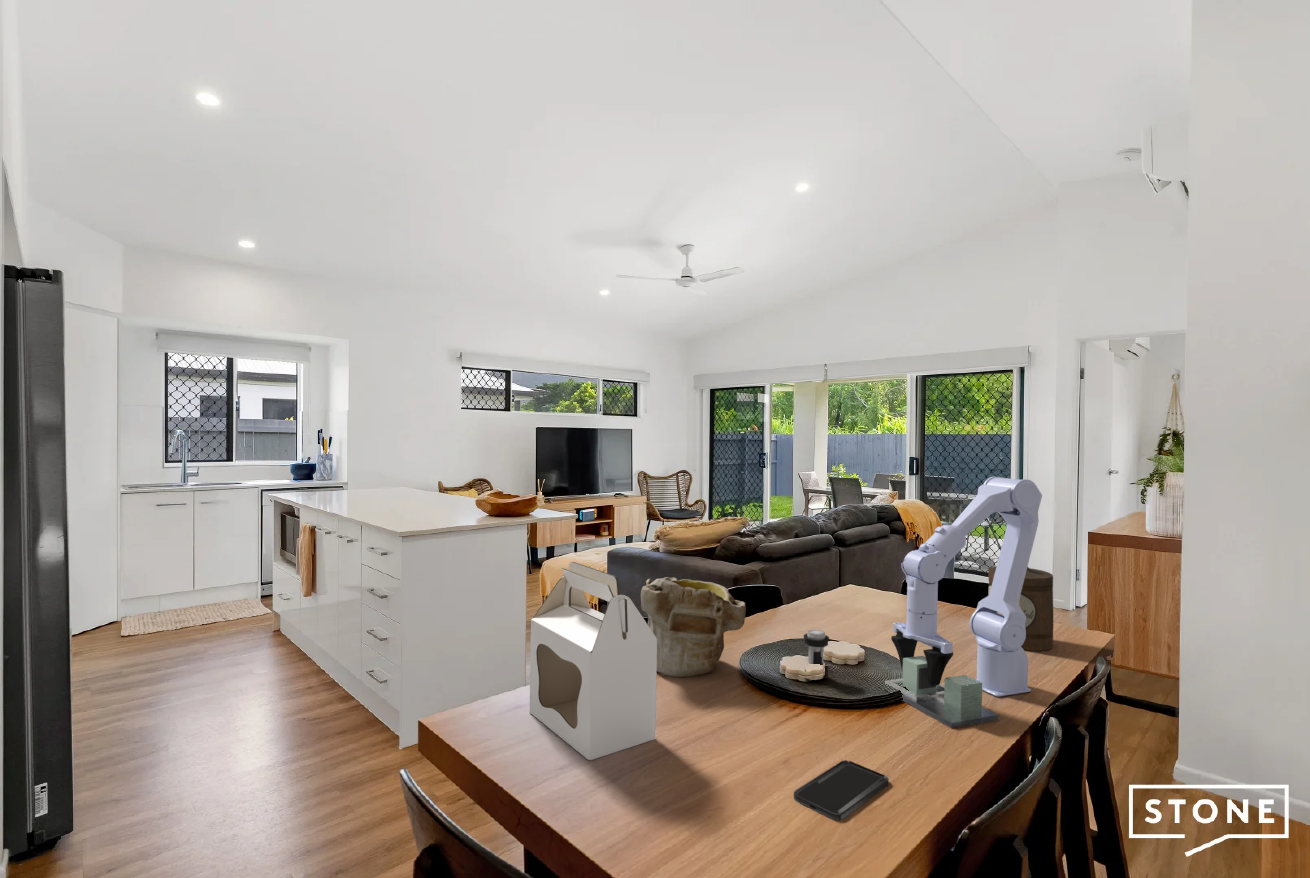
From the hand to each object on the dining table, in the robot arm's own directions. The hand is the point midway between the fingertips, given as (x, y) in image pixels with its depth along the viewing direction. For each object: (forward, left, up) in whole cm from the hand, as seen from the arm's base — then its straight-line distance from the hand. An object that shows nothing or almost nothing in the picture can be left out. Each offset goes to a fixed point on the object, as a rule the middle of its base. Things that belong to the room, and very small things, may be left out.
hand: (920, 677), depth 133 cm
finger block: (0, 0, -2) cm, 3 cm away
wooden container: (-50, -20, -4) cm, 54 cm away
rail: (0, +4, -3) cm, 5 cm away
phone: (+37, +25, -4) cm, 45 cm away
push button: (+16, -14, -4) cm, 22 cm away
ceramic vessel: (+38, -28, -4) cm, 47 cm away
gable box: (+67, -7, -4) cm, 67 cm away
